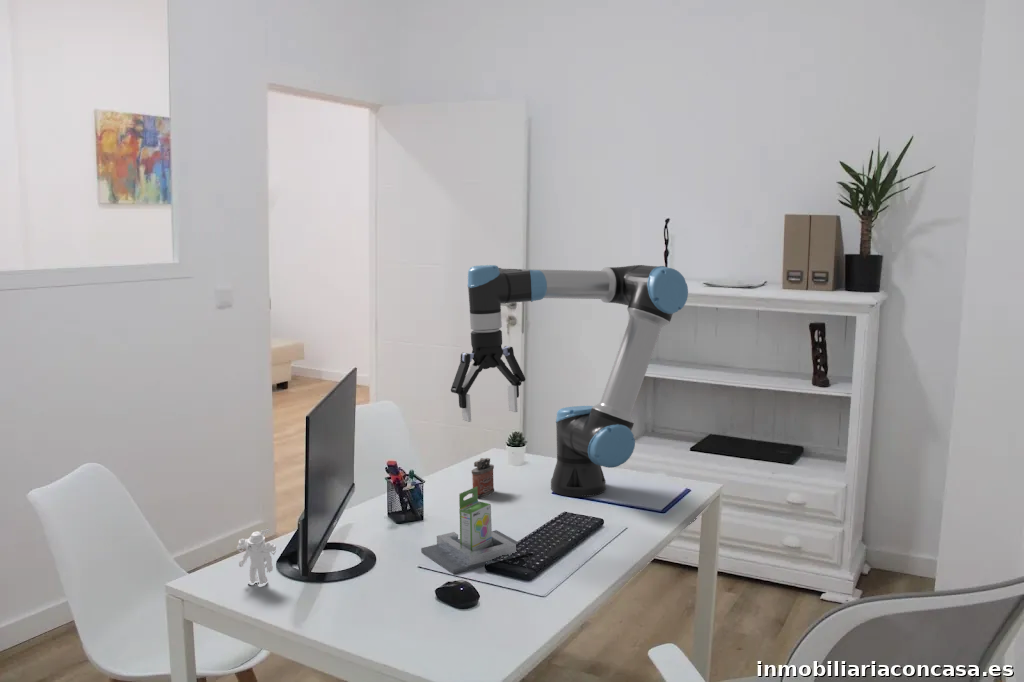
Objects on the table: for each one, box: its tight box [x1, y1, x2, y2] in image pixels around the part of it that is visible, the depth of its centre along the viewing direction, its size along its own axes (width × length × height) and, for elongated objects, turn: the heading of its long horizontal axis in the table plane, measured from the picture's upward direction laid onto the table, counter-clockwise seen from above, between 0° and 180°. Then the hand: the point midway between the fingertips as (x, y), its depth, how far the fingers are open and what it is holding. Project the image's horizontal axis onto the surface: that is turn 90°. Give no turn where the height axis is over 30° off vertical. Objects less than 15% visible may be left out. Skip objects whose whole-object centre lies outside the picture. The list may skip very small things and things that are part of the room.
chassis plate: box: [420, 529, 520, 575], centre depth 200 cm, size 20×15×3 cm
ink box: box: [458, 487, 493, 551], centre depth 199 cm, size 7×4×13 cm, turn 144°
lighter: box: [471, 457, 495, 500], centre depth 241 cm, size 8×3×10 cm, turn 144°
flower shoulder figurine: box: [236, 528, 277, 584], centre depth 184 cm, size 9×4×12 cm, turn 69°
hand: (490, 416), depth 216 cm, fingers open, 13 cm apart
